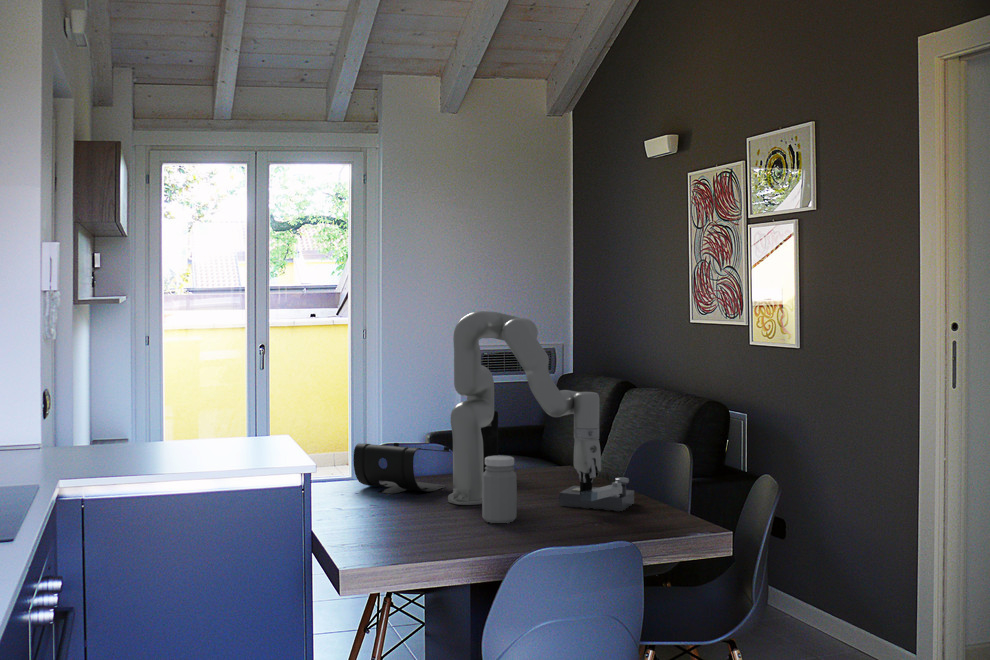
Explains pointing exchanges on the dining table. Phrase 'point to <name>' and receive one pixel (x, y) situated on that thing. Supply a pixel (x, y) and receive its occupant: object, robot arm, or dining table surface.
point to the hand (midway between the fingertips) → (585, 495)
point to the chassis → (614, 502)
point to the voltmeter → (490, 439)
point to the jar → (499, 490)
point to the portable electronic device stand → (389, 468)
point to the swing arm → (604, 490)
